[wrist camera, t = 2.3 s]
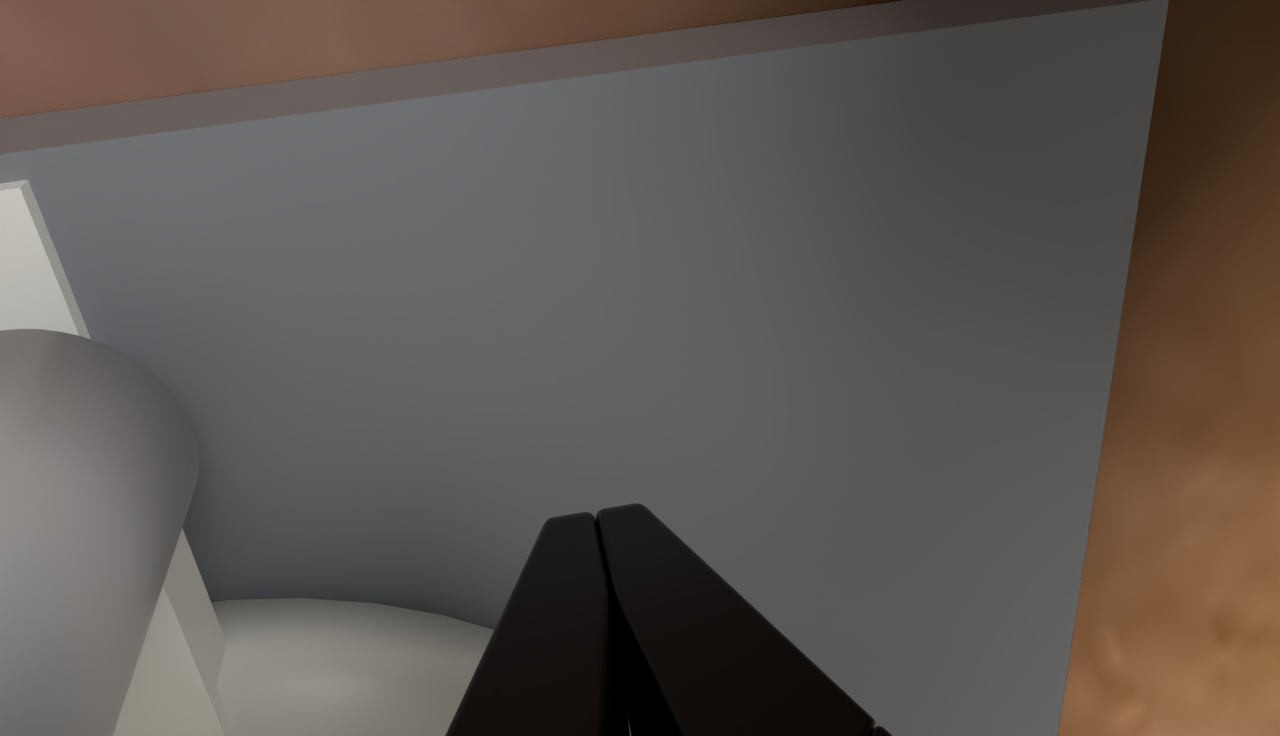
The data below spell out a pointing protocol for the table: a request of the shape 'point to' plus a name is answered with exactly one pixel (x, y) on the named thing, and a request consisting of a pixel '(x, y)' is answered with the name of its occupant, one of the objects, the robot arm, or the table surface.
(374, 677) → the dial
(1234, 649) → the table surface
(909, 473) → the dial plate
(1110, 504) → the table surface
